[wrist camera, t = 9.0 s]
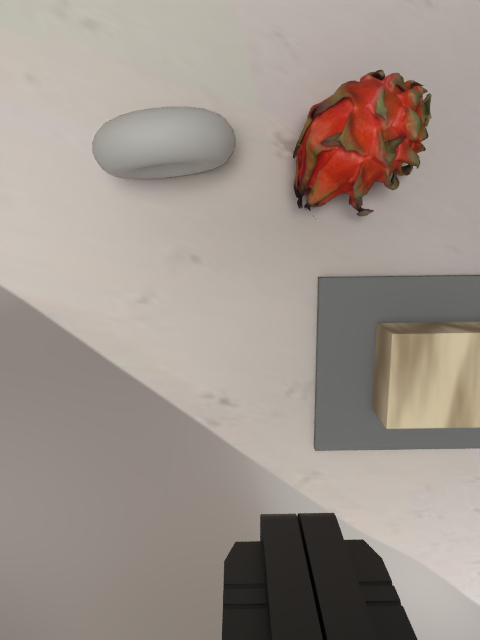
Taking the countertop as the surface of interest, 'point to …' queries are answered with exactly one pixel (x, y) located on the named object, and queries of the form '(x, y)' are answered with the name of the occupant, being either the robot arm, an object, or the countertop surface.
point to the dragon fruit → (361, 139)
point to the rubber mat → (359, 355)
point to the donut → (163, 143)
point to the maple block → (427, 375)
